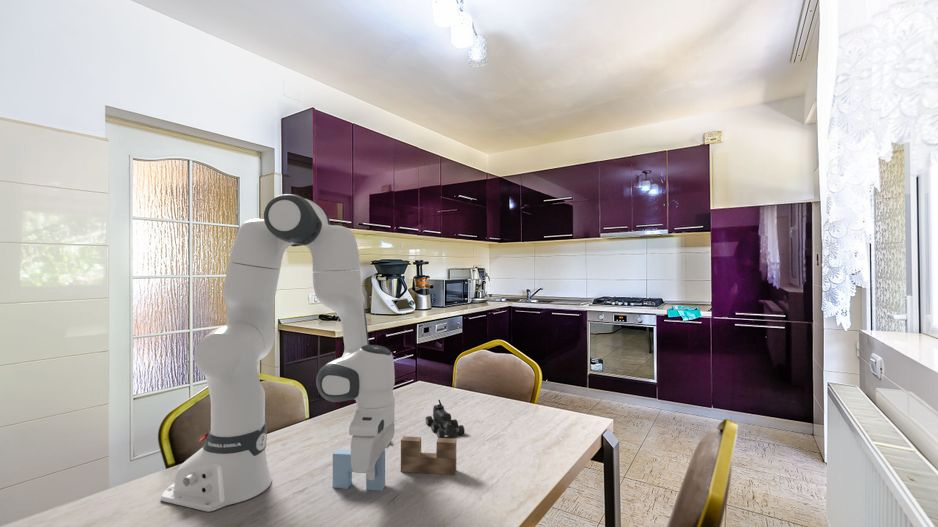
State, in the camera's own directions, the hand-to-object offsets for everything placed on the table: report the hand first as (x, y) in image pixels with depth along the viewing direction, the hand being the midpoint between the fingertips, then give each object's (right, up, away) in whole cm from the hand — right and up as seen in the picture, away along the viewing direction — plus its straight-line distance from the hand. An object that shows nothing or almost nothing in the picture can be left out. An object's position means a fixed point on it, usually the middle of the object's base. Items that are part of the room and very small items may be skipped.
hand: (375, 473), depth 95 cm
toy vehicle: (+14, -5, +35) cm, 38 cm away
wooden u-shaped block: (+12, -3, +8) cm, 15 cm away
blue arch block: (-4, -3, 0) cm, 5 cm away
